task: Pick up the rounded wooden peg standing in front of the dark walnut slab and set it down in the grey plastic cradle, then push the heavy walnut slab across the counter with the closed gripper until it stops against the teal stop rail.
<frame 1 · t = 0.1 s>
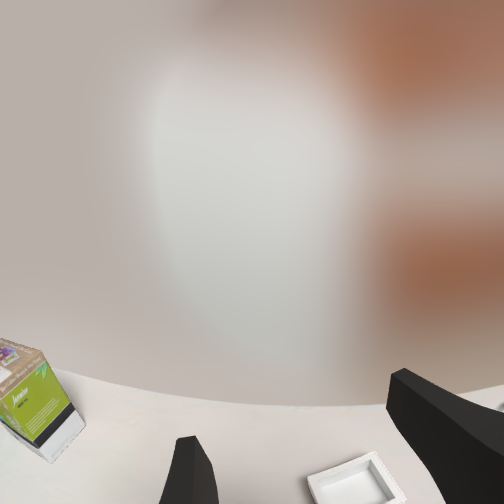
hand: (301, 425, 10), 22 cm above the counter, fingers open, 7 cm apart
cradle: (354, 499, 21), on the counter
tea box: (45, 432, 35), on the counter
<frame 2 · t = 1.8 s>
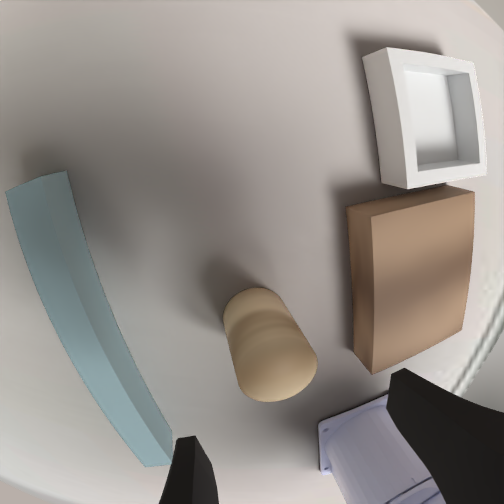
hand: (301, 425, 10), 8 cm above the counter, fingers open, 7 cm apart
cradle: (420, 117, 15), on the counter
walnut slab: (400, 268, 19), on the counter
rounded wooden peg: (254, 316, 17), on the counter
stop rail: (104, 334, 16), on the counter
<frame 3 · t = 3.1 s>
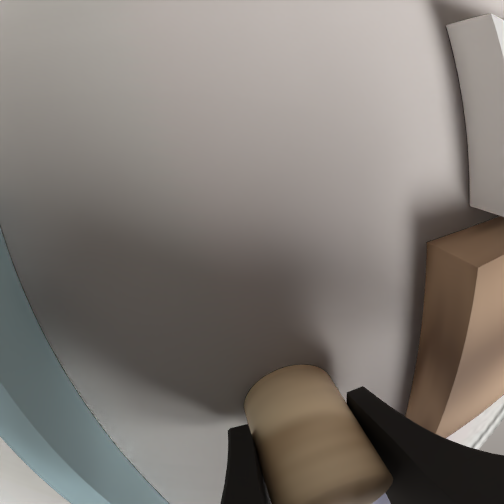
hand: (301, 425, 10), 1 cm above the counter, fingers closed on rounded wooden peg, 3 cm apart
walnut slab: (470, 314, 13), on the counter
rounded wooden peg: (289, 399, 11), on the counter, touching gripper
stop rail: (75, 421, 9), on the counter
when the fingers open (3 cm above the counter, at t = 6.1 s): rounded wooden peg drops 1 cm, resting on cradle.
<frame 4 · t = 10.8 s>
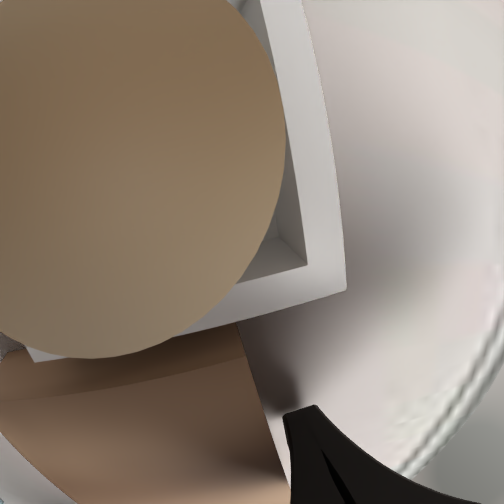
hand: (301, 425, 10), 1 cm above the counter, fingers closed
cradle: (142, 151, 7), on the counter
walnut slab: (161, 429, 10), on the counter, touching gripper
rounded wooden peg: (140, 152, 7), resting on cradle
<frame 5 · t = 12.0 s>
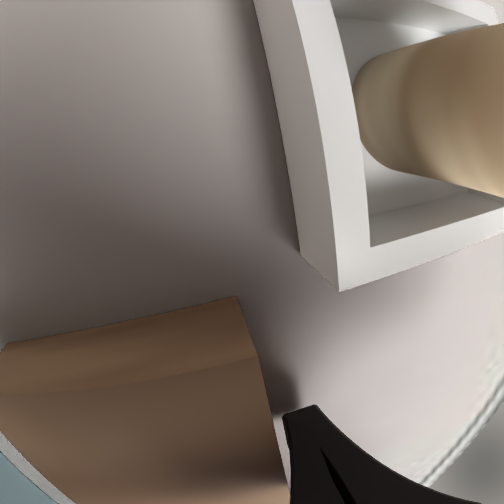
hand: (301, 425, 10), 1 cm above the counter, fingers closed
cradle: (394, 111, 8), on the counter
walnut slab: (160, 428, 10), on the counter, touching gripper
rounded wooden peg: (402, 112, 7), resting on cradle
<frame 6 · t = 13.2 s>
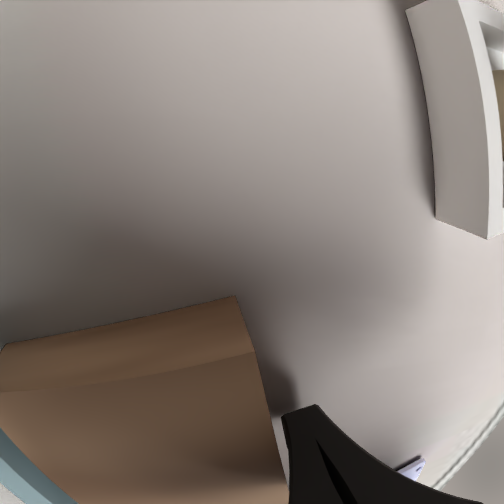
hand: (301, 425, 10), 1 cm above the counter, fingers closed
cradle: (487, 114, 8), on the counter
walnut slab: (159, 425, 10), on the counter, touching gripper
rounded wooden peg: (495, 115, 8), resting on cradle
stop rail: (30, 429, 9), on the counter
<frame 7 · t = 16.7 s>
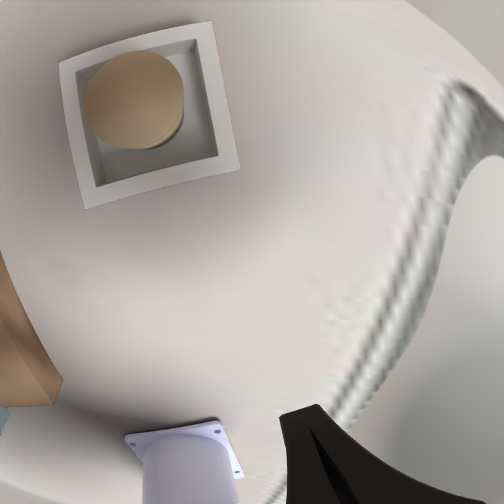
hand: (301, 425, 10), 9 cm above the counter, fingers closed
cradle: (149, 115, 14), on the counter
rounded wooden peg: (148, 114, 14), resting on cradle
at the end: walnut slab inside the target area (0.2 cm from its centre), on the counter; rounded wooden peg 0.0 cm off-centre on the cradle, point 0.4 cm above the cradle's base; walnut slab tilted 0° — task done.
